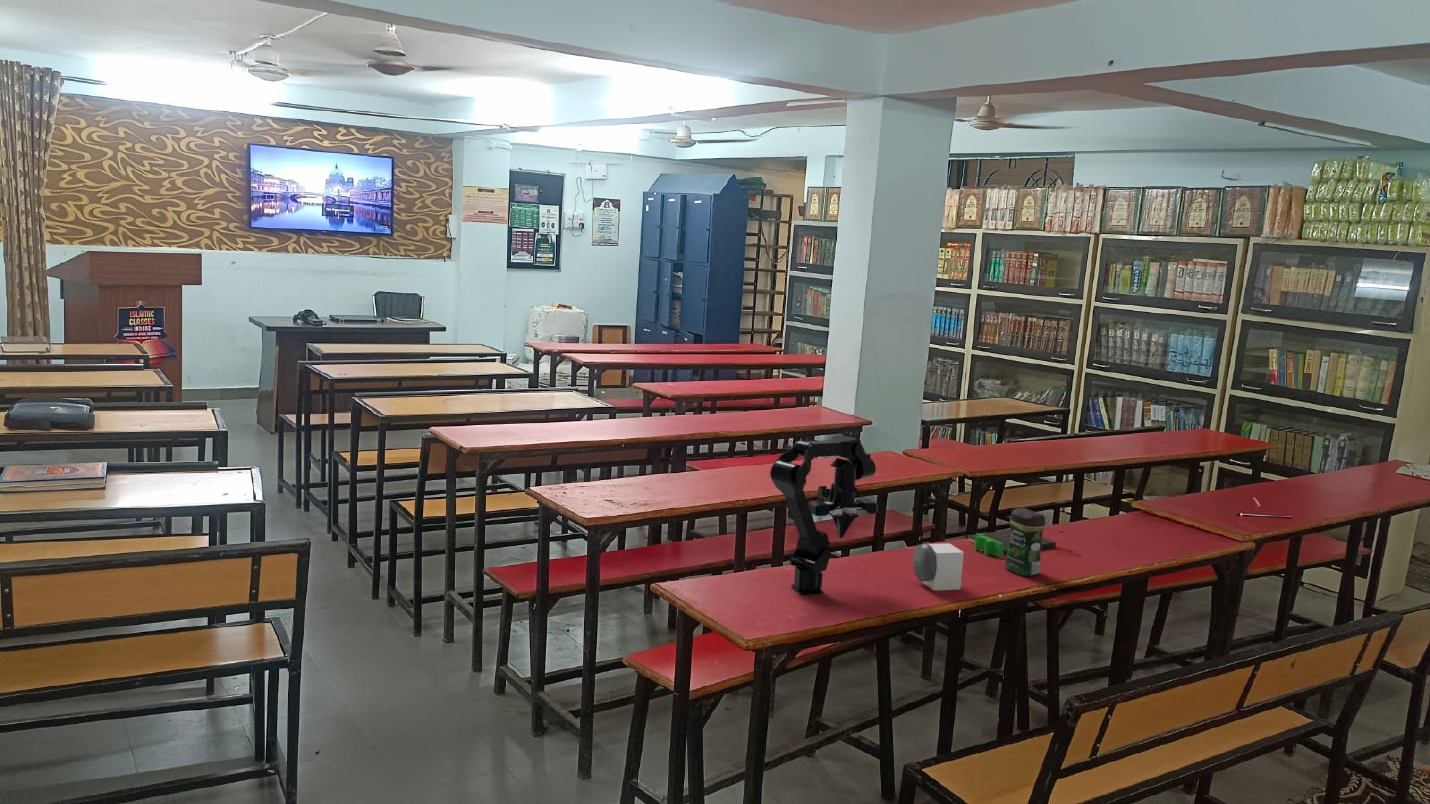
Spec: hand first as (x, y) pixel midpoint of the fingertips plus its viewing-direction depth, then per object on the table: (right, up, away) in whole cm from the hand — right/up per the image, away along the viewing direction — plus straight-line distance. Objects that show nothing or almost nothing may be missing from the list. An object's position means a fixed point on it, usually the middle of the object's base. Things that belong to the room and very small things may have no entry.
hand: (840, 537), depth 268 cm
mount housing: (+28, -13, +2) cm, 31 cm away
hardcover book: (+60, -9, +45) cm, 76 cm away
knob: (+25, -12, +1) cm, 28 cm away
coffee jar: (+55, -13, +18) cm, 59 cm away
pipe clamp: (+49, -10, +35) cm, 61 cm away
